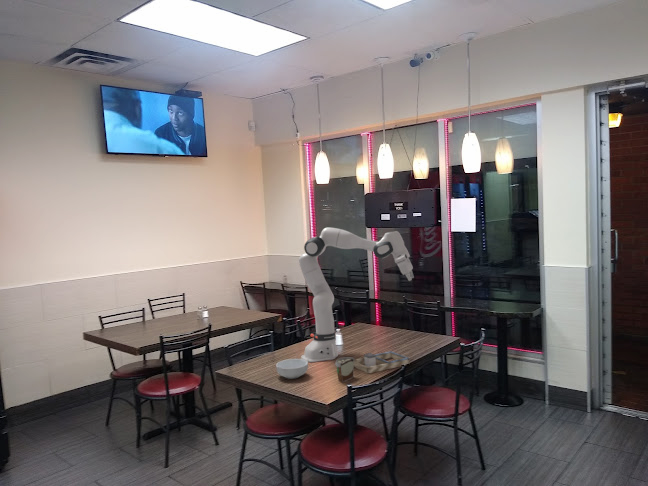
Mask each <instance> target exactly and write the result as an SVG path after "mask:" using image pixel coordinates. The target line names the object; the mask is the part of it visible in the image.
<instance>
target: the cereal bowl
mask: <svg viewBox="0 0 648 486" xmlns="http://www.w3.org/2000/svg"><path fill="white" fill-rule="evenodd" d="M275 367H276V372H277V374H278V375H279V376H281V377H282V378H285V379H290V380H291V379H294V380H295V379H298V378H300V377H302V376H303V375H305V373H307V372H308V369H309V362H307V361H306V360H303V359H301V358H287V359H284V360H280V361H278V362H277V363H276V365H275Z"/></svg>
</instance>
